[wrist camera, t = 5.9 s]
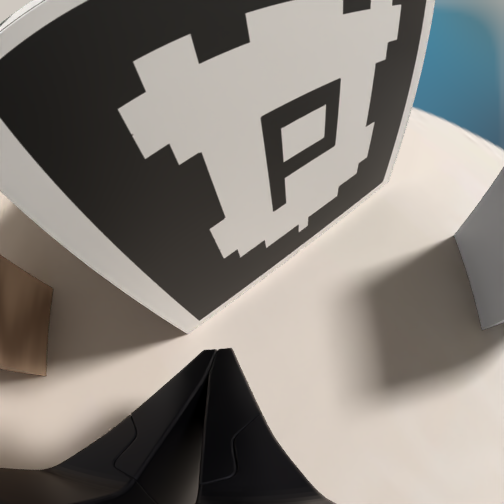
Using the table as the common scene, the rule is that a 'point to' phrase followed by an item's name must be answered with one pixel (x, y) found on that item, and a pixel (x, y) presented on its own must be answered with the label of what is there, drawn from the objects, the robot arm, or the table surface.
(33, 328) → the walnut block
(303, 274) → the table surface
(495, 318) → the slate block
